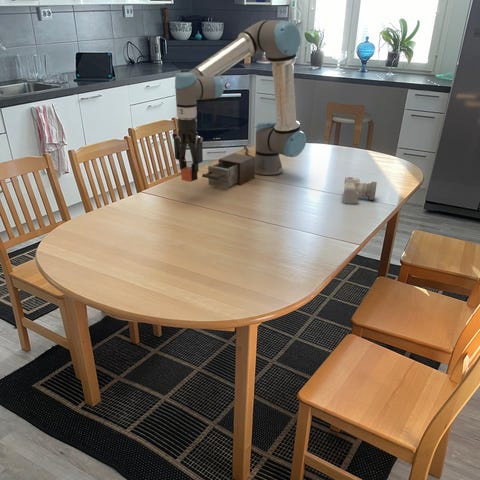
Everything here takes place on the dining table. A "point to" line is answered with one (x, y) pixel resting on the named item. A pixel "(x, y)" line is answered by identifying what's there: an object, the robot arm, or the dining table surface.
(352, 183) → the digital camera
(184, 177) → the block
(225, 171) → the grey drawer
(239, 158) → the cabinet
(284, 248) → the dining table surface
